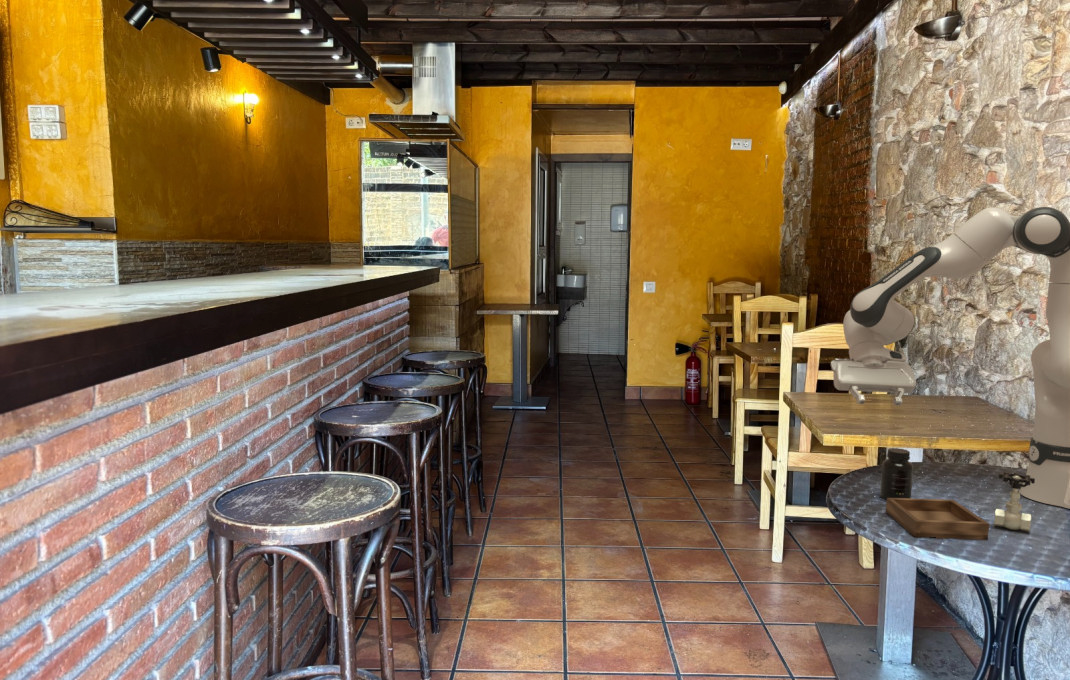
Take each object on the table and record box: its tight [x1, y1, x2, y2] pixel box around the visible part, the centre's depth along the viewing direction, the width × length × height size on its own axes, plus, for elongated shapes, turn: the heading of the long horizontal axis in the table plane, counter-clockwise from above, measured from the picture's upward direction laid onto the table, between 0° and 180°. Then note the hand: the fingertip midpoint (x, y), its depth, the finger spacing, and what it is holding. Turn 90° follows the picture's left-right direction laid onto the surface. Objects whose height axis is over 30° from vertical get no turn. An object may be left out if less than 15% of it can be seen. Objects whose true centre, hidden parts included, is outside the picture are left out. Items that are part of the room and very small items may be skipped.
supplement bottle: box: [879, 447, 914, 501], centre depth 185 cm, size 7×7×12 cm
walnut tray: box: [885, 498, 990, 541], centre depth 168 cm, size 15×15×4 cm
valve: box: [993, 471, 1035, 532], centre depth 166 cm, size 7×7×12 cm
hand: (880, 403), depth 195 cm, fingers open, 8 cm apart
